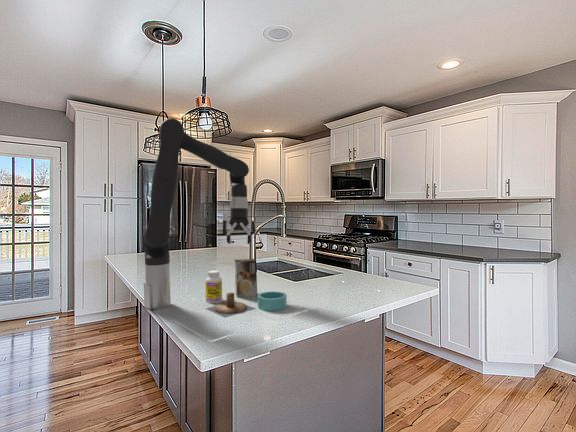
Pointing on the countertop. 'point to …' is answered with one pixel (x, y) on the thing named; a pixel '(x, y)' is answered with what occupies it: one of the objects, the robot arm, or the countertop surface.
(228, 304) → the lid
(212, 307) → the mat
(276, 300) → the bowl
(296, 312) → the countertop surface
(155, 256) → the robot arm
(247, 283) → the coffee box
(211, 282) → the supplement bottle
